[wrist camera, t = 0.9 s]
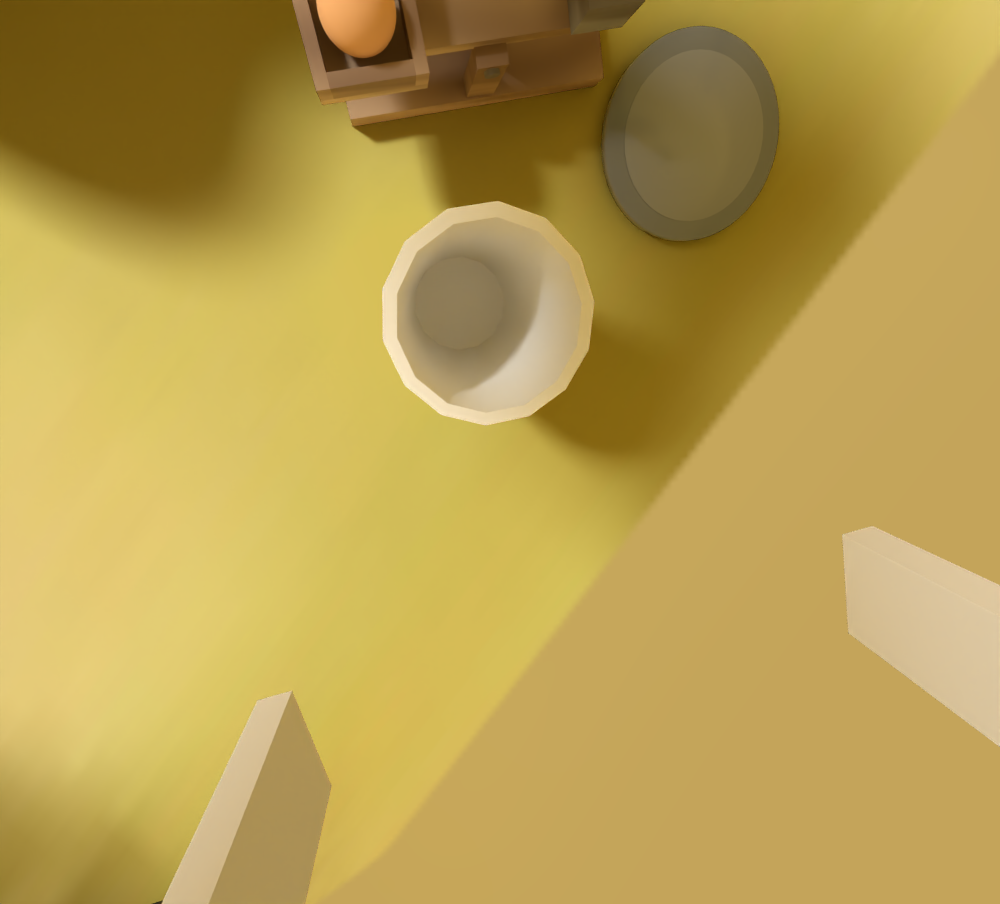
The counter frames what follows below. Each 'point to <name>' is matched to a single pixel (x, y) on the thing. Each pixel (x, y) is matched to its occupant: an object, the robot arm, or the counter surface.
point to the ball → (358, 24)
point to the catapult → (463, 54)
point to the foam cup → (487, 313)
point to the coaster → (690, 134)
